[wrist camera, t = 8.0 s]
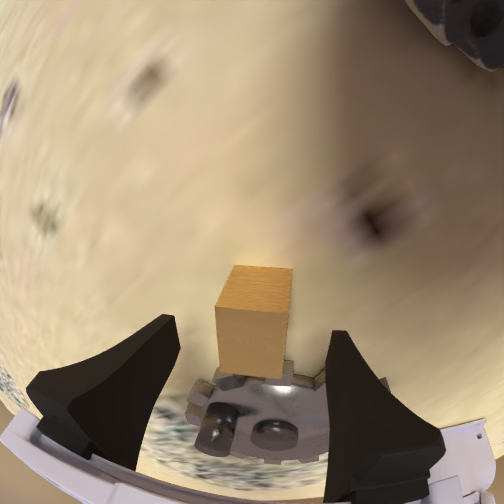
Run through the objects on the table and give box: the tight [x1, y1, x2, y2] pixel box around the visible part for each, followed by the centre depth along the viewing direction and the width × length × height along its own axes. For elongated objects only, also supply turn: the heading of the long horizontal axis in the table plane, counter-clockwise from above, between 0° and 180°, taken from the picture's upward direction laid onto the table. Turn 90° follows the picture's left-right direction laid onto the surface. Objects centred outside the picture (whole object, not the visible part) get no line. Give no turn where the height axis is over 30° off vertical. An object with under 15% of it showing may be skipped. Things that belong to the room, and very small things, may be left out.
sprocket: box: [185, 360, 330, 465], centre depth 17 cm, size 14×14×5 cm
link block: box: [215, 265, 292, 379], centre depth 14 cm, size 4×3×4 cm
